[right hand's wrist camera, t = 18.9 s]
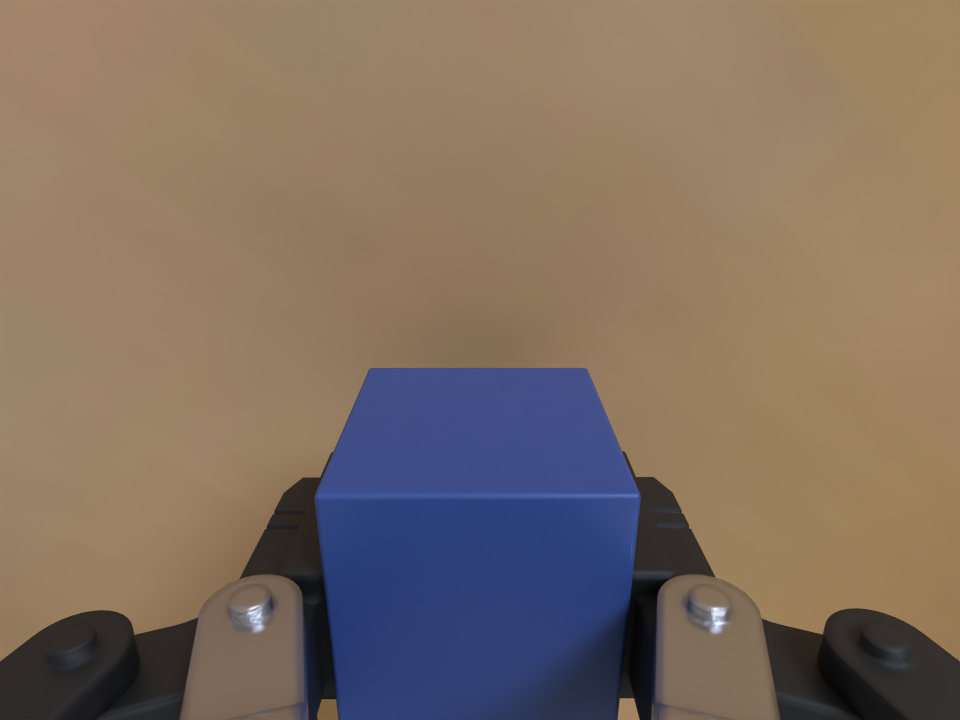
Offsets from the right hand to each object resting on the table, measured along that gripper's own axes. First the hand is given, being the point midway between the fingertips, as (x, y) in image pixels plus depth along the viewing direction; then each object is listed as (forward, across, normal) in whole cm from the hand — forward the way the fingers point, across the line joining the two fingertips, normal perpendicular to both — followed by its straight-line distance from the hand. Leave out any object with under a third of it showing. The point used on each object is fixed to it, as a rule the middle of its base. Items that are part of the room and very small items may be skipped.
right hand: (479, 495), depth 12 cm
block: (0, 0, 0) cm, 0 cm away
